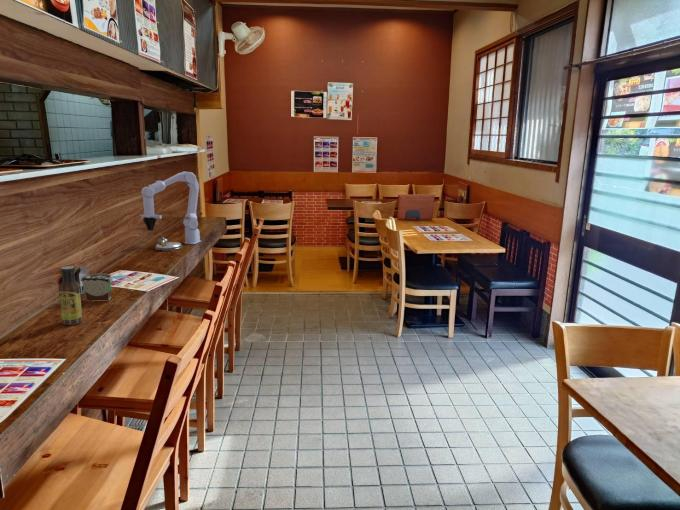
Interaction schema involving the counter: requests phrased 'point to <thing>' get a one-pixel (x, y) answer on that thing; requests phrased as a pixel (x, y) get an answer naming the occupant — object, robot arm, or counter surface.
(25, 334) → the counter surface
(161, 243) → the lid
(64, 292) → the sauce bottle
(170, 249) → the turntable base
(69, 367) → the counter surface
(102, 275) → the food container
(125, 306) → the counter surface
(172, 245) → the turntable
